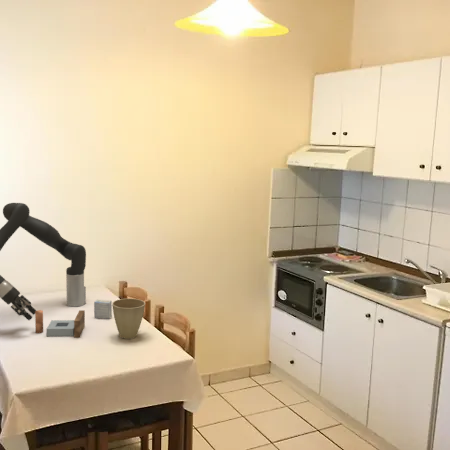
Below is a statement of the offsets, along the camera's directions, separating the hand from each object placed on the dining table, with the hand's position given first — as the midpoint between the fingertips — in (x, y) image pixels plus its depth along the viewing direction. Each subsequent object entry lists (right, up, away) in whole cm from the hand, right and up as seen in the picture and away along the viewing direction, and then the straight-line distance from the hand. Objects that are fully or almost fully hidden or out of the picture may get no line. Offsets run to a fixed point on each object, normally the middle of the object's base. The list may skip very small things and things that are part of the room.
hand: (33, 316), depth 262 cm
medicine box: (+27, -5, +25) cm, 37 cm away
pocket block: (+13, -8, +3) cm, 15 cm away
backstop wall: (+21, -8, +3) cm, 22 cm away
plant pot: (+44, -10, 0) cm, 45 cm away
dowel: (+2, -8, +1) cm, 8 cm away
